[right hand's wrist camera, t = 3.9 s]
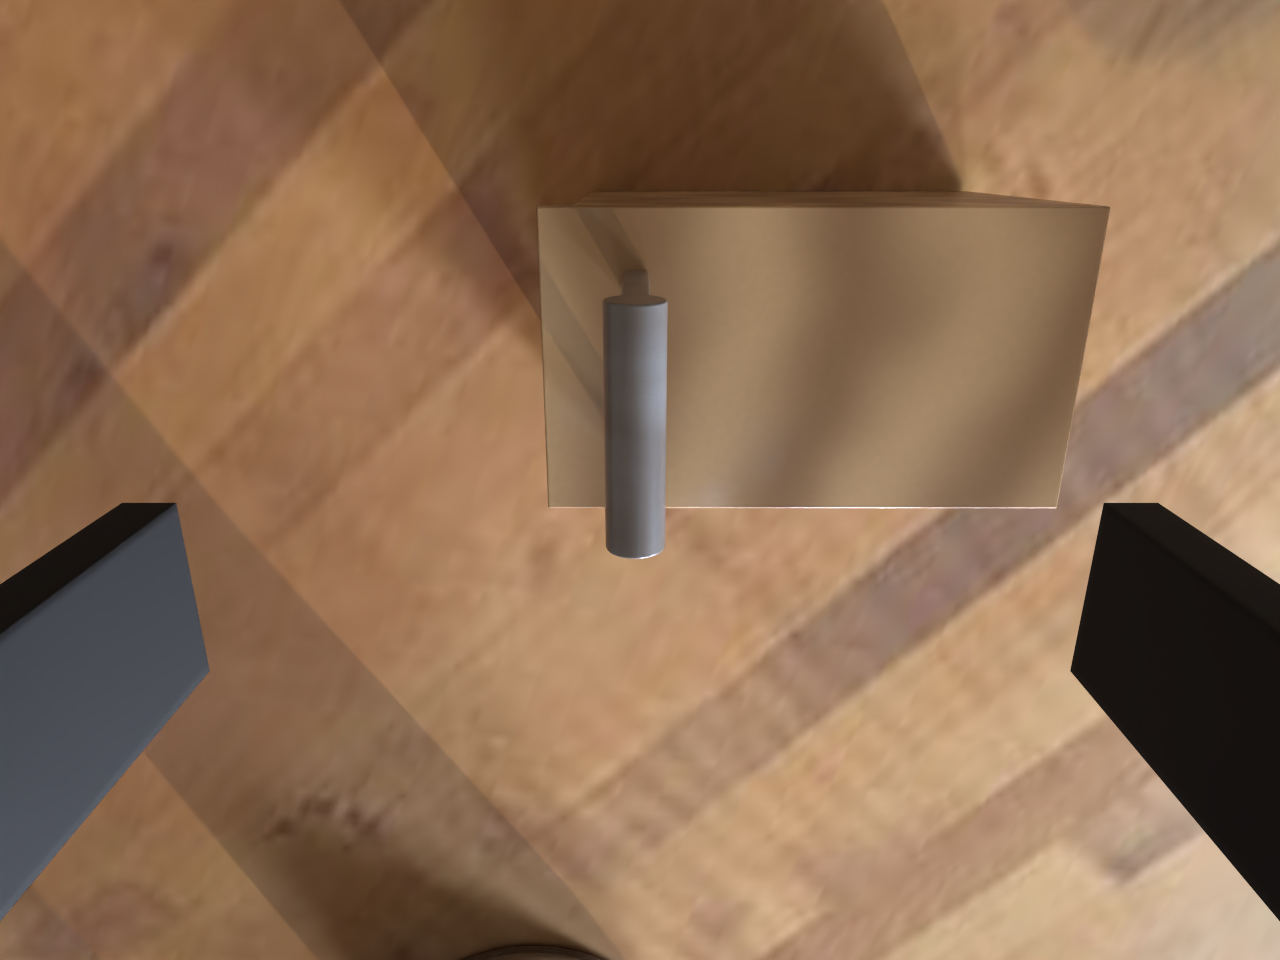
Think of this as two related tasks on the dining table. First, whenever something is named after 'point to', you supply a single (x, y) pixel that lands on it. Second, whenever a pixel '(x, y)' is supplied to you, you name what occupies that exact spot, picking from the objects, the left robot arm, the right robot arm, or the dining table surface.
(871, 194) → the chest
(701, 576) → the dining table surface
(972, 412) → the lid
